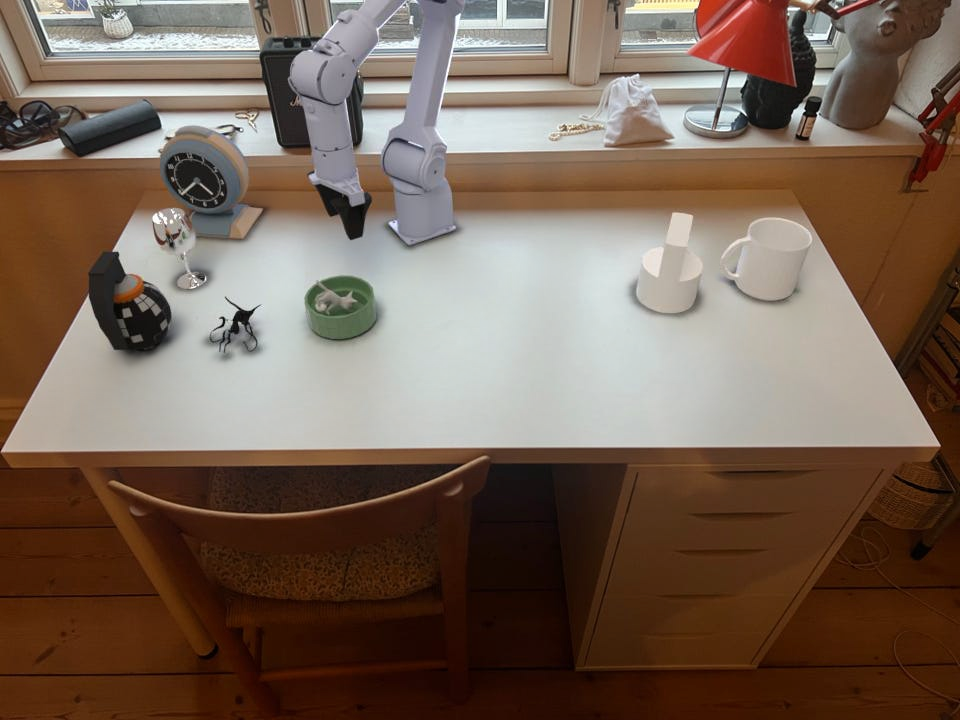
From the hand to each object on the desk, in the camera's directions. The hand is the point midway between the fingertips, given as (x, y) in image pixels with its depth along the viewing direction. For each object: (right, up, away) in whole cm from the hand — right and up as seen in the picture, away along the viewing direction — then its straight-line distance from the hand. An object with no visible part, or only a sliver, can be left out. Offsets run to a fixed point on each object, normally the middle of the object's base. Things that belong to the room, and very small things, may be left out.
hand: (345, 225), depth 107 cm
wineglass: (-26, -8, +6) cm, 28 cm away
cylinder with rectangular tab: (+49, -11, +2) cm, 51 cm away
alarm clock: (-26, +4, +19) cm, 32 cm away
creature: (-15, -18, -5) cm, 24 cm away
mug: (+64, -8, +4) cm, 65 cm away
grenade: (-28, -19, -5) cm, 34 cm away
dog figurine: (-2, -14, -3) cm, 14 cm away
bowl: (0, -14, -2) cm, 15 cm away
